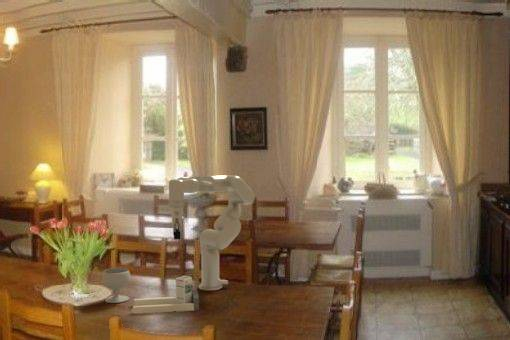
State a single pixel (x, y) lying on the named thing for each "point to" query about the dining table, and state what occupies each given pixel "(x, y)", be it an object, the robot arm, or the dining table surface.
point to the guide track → (164, 304)
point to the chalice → (116, 283)
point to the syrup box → (184, 290)
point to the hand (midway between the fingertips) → (176, 237)
